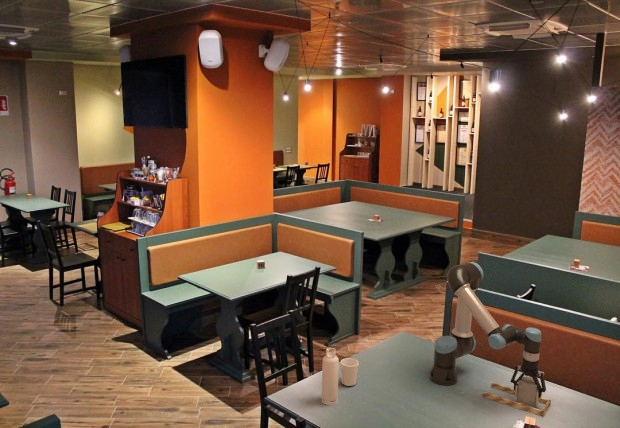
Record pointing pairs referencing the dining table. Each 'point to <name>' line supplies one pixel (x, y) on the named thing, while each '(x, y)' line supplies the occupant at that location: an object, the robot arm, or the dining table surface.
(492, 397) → the beam frame
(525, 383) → the speckled beige cylinder
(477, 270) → the robot arm
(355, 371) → the cup
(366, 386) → the dining table surface
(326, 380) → the bottle
